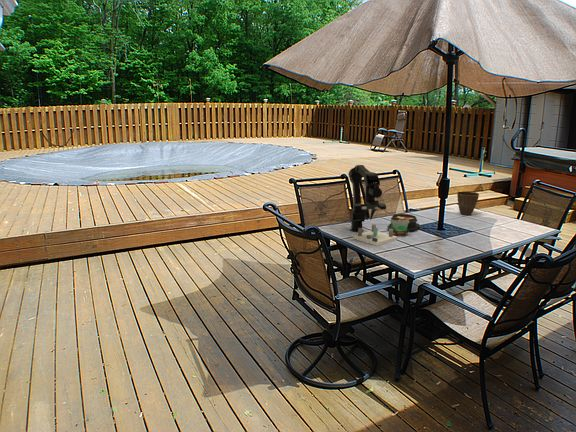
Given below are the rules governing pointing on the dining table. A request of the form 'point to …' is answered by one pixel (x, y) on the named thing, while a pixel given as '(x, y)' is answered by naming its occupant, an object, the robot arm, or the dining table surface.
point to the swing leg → (373, 234)
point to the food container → (399, 227)
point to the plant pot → (467, 202)
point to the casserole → (412, 219)
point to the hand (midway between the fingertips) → (368, 219)
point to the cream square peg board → (377, 240)
